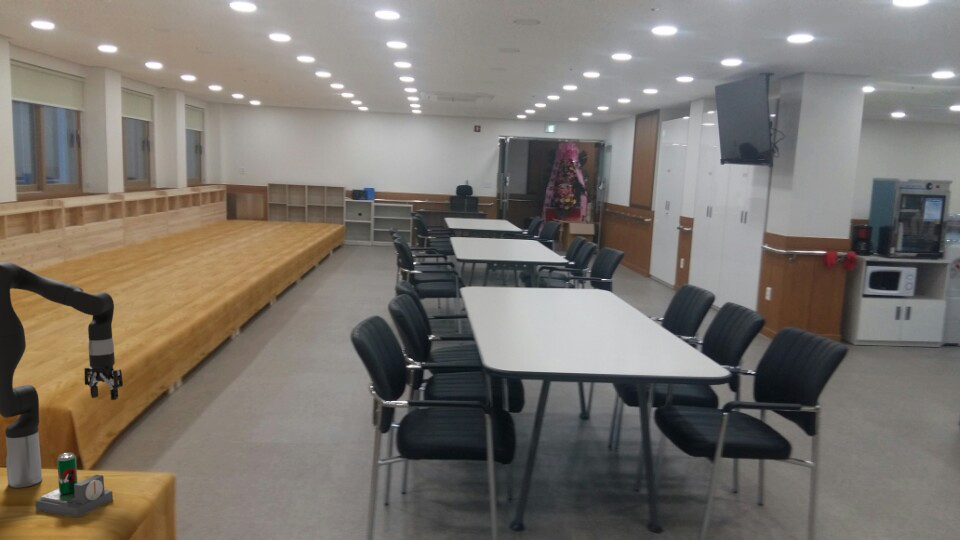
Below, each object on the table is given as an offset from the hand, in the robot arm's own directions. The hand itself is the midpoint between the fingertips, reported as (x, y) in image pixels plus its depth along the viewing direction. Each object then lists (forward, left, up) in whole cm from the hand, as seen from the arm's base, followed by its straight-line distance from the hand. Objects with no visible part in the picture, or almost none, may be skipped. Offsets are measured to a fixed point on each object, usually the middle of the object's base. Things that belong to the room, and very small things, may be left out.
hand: (104, 398), depth 237 cm
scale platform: (+5, -20, -25) cm, 32 cm away
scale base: (+7, -20, -28) cm, 35 cm away
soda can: (+5, -20, -24) cm, 32 cm away
